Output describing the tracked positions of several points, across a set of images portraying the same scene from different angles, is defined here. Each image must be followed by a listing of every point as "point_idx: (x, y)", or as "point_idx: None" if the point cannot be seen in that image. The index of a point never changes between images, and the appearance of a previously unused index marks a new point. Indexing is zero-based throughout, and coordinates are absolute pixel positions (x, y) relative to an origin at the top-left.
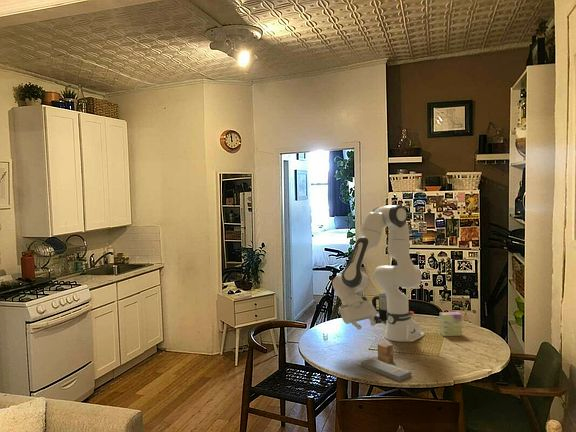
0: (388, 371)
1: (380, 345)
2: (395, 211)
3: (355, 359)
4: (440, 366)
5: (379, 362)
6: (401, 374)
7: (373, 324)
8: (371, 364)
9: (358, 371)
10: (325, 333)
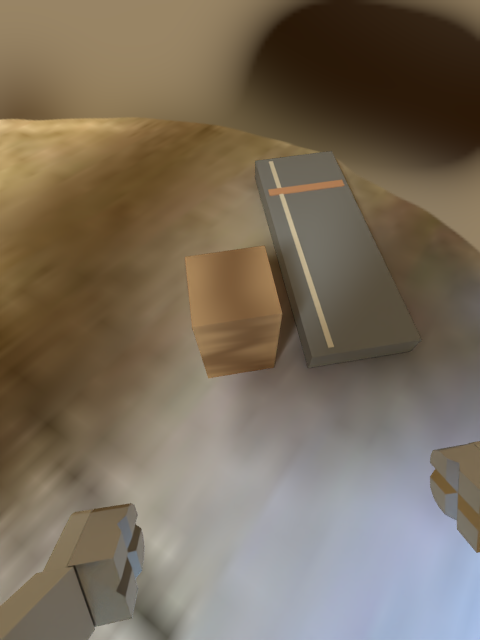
0: (341, 194)
1: (275, 287)
2: None
3: (399, 471)
4: (80, 193)
5: (320, 284)
6: (309, 158)
7: (130, 505)
8: (377, 283)
9: (453, 303)
10: None
